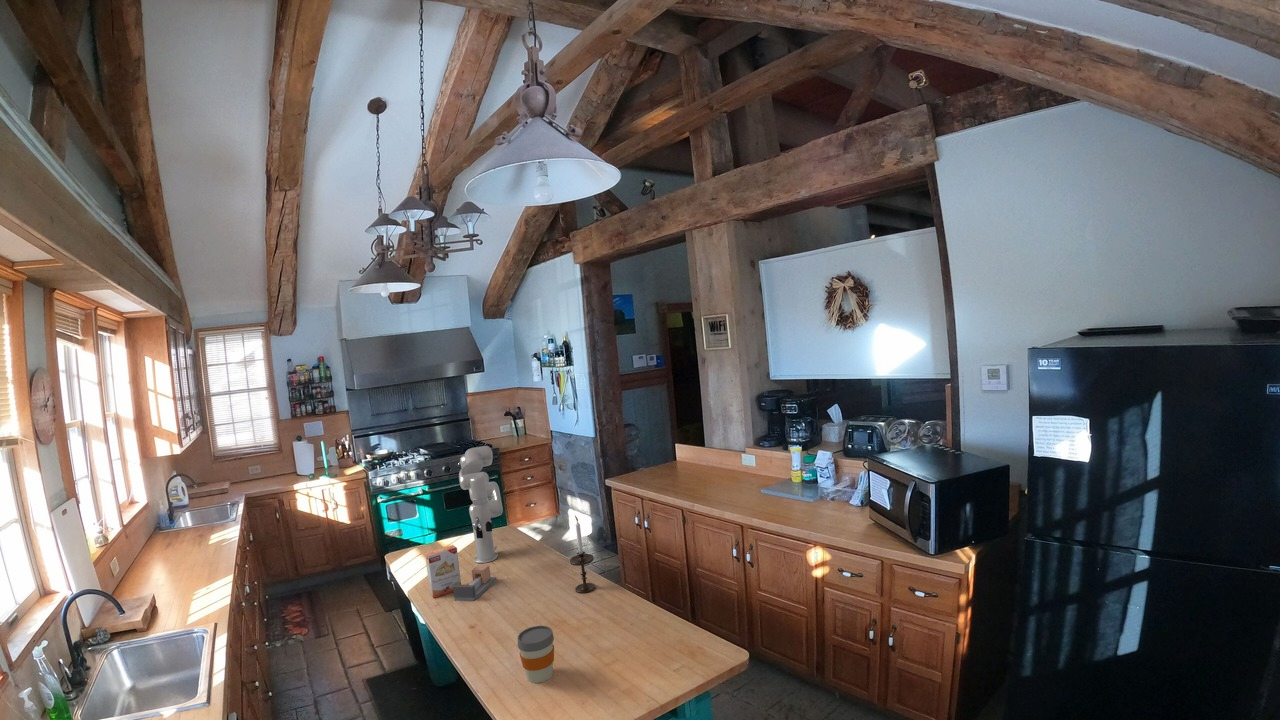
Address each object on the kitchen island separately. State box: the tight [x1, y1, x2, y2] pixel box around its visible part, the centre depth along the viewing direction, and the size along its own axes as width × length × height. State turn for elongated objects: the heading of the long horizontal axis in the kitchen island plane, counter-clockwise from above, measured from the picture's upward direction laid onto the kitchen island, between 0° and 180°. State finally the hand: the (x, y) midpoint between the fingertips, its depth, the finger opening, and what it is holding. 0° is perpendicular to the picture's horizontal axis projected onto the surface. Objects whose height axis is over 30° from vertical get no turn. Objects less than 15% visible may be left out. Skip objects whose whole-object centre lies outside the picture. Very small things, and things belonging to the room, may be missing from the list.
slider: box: [471, 564, 492, 584], centre depth 298 cm, size 6×6×7 cm
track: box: [453, 574, 498, 602], centre depth 292 cm, size 22×10×6 cm, turn 165°
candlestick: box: [569, 515, 596, 595], centre depth 279 cm, size 11×11×35 cm
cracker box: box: [424, 544, 462, 599], centre depth 293 cm, size 14×6×21 cm, turn 125°
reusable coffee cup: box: [517, 625, 555, 684], centre depth 213 cm, size 13×13×15 cm
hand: (484, 534), depth 304 cm, fingers open, 8 cm apart
